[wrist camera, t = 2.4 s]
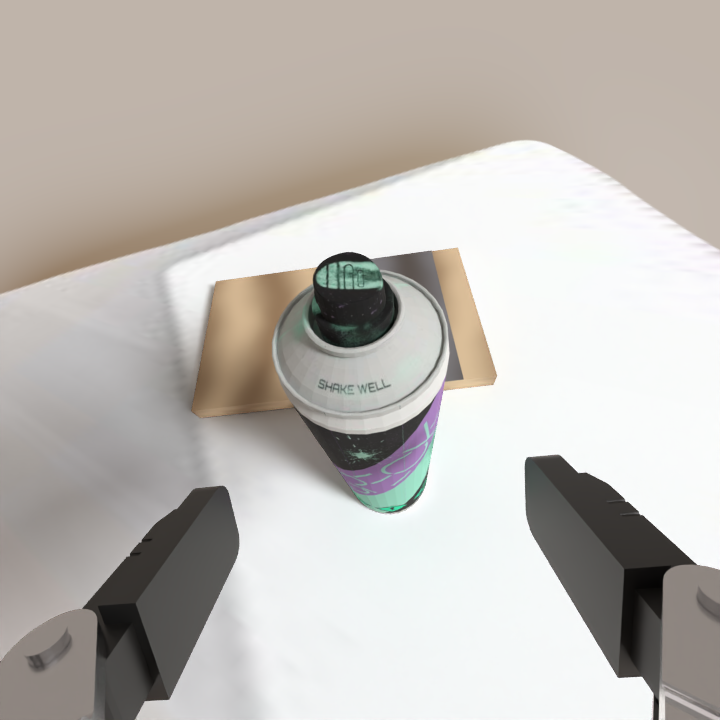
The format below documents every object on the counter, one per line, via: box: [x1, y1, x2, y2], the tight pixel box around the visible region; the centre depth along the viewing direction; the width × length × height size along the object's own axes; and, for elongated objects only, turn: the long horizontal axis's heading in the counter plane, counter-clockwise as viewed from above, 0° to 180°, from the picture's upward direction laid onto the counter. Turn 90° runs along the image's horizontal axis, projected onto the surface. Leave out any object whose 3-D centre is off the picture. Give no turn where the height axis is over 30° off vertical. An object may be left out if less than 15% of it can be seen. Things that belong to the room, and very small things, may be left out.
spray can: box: [272, 252, 450, 514], centre depth 17 cm, size 6×6×20 cm
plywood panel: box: [191, 248, 497, 418], centre depth 32 cm, size 24×14×2 cm, turn 94°
